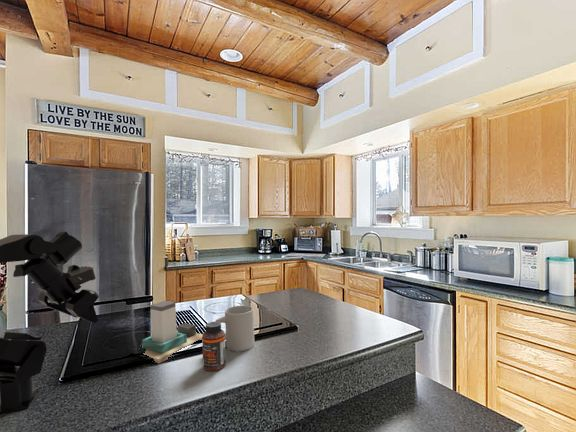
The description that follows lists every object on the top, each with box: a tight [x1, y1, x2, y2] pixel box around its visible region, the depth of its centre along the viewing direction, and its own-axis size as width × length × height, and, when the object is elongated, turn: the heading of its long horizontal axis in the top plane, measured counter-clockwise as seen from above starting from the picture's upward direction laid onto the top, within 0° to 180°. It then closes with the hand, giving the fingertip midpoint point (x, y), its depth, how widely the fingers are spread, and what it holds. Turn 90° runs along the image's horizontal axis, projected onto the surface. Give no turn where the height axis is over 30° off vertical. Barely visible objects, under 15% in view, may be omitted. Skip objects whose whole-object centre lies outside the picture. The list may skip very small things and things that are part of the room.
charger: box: [149, 300, 178, 344], centre depth 97 cm, size 5×5×12 cm
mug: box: [214, 305, 256, 352], centre depth 96 cm, size 12×8×11 cm
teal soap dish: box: [141, 322, 203, 364], centre depth 98 cm, size 18×13×4 cm
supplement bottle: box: [201, 321, 227, 372], centre depth 85 cm, size 6×6×11 cm
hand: (86, 319), depth 86 cm, fingers open, 9 cm apart
